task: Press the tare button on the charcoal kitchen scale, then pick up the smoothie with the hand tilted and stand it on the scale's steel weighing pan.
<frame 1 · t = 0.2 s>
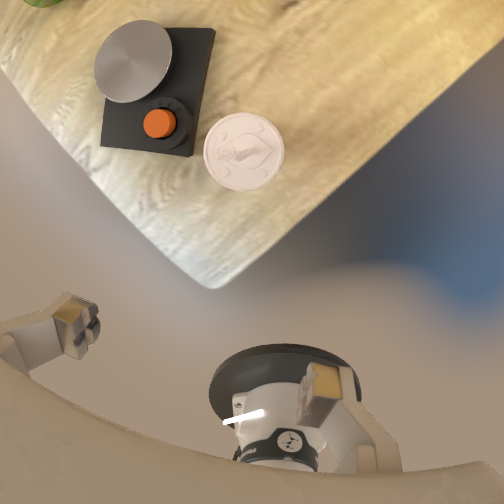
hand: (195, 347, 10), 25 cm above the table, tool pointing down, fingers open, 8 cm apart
tare button: (159, 123, 28), point 4 cm above the table, slide at 0.1 cm
scale: (154, 88, 29), on the table
smoothie: (257, 144, 31), on the table
scale pan: (132, 60, 25), resting on scale
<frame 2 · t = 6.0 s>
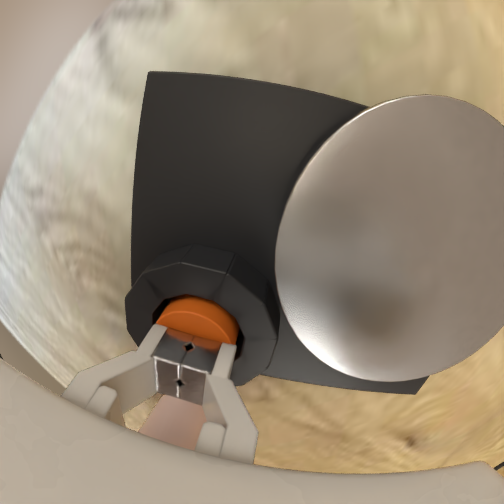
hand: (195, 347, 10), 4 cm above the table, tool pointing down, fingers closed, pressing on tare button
tare button: (197, 331, 11), point 3 cm above the table, slide at -0.7 cm, touching gripper
scale: (320, 255, 12), on the table
smoothie: (185, 408, 18), on the table
scale pan: (430, 258, 8), resting on scale
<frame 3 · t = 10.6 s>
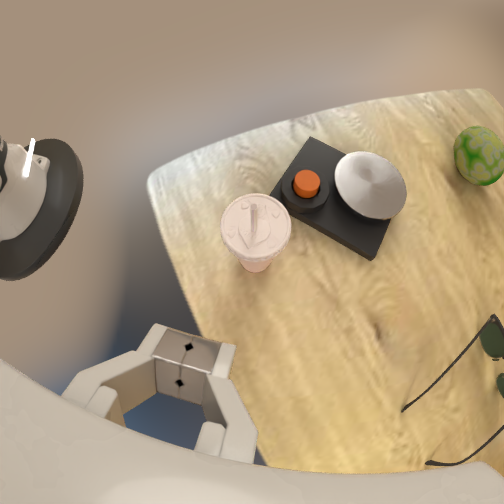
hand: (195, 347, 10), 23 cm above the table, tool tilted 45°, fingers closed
decorative ball: (464, 172, 40), on the table
tare button: (306, 184, 35), point 3 cm above the table, slide at 0.1 cm
scale: (338, 196, 38), on the table
sunglasses: (458, 399, 29), on the table
smoothie: (255, 257, 36), on the table
scale pan: (370, 185, 35), resting on scale
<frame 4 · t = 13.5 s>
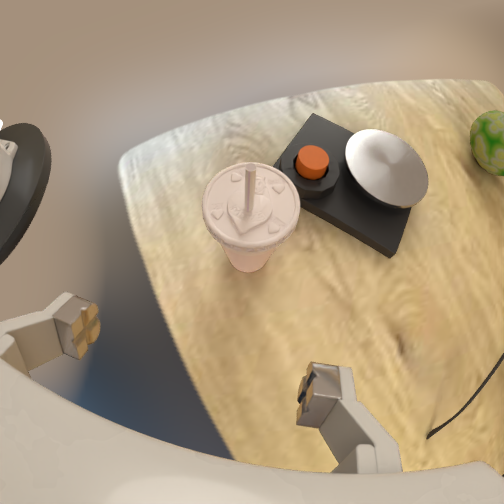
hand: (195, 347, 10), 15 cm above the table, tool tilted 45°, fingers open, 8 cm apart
decorative ball: (481, 162, 35), on the table
tare button: (312, 162, 28), point 3 cm above the table, slide at 0.1 cm
scale: (348, 180, 31), on the table
sunglasses: (485, 417, 22), on the table
smoothie: (248, 253, 28), on the table
scale pan: (387, 167, 29), resting on scale
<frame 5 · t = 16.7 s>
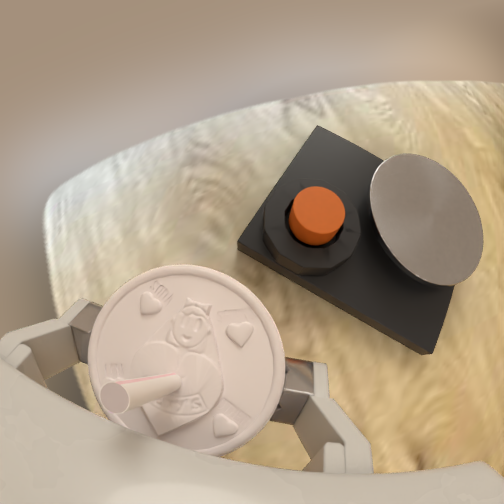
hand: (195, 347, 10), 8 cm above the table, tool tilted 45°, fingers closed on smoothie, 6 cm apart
tare button: (316, 216, 17), point 3 cm above the table, slide at 0.1 cm
scale: (370, 234, 21), on the table
smoothie: (211, 361, 17), on the table, touching gripper
scale pan: (429, 216, 18), resting on scale
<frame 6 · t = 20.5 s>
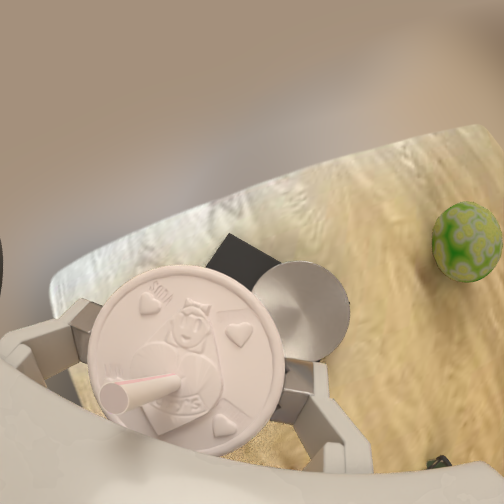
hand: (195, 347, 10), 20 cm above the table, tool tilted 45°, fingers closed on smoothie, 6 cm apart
decorative ball: (444, 256, 34), on the table
scale: (259, 318, 31), on the table
smoothie: (211, 361, 17), point 13 cm above the table, touching gripper
scale pan: (299, 312, 28), resting on scale
when the fingers open (11 cm above the table, at t = 24.8 s): smoothie stays where it is, resting on scale pan.
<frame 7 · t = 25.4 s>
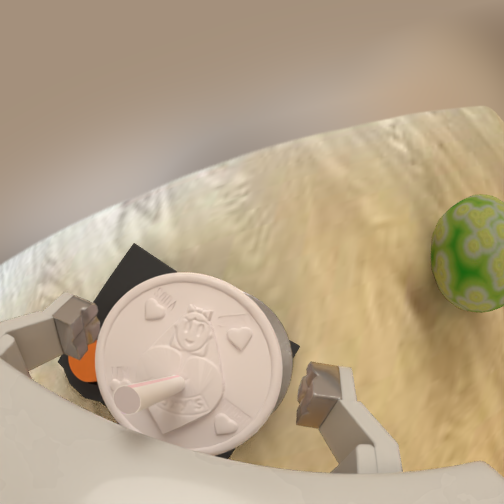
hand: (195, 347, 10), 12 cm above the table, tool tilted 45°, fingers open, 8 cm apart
decorative ball: (448, 272, 24), on the table
tare button: (91, 360, 17), point 3 cm above the table, slide at 0.1 cm
scale: (170, 361, 21), on the table
smoothie: (212, 362, 18), point 3 cm above the table, touching scale pan
scale pan: (214, 362, 18), resting on scale
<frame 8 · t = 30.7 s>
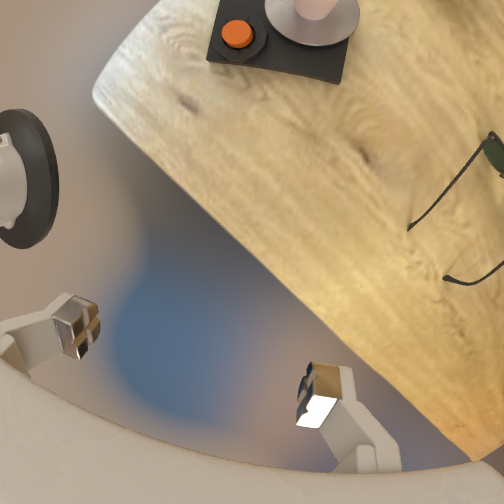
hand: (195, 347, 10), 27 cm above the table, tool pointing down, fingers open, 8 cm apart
tare button: (237, 34, 25), point 3 cm above the table, slide at 0.1 cm
scale: (282, 25, 26), on the table
sunglasses: (467, 214, 32), on the table
smoothie: (312, 7, 22), point 3 cm above the table, touching scale pan
scale pan: (312, 7, 23), resting on scale
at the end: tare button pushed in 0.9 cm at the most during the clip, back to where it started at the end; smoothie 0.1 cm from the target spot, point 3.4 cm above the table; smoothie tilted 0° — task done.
